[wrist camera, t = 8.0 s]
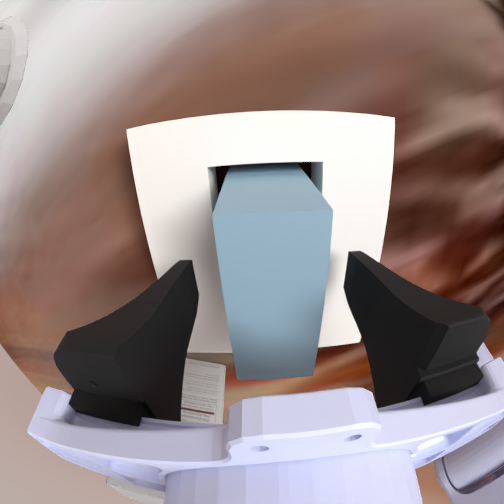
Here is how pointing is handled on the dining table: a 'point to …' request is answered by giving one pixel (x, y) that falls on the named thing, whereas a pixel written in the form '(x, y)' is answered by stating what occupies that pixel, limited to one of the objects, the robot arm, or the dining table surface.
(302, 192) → the block
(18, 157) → the dining table surface
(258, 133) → the white rectangular frame
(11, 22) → the french press
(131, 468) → the robot arm
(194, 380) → the supplement box
